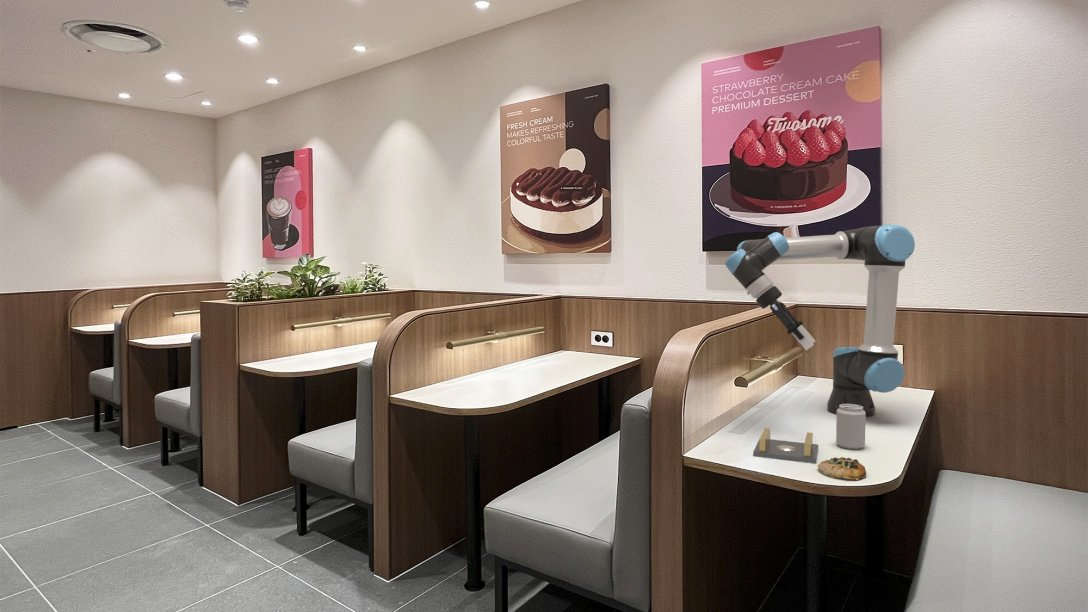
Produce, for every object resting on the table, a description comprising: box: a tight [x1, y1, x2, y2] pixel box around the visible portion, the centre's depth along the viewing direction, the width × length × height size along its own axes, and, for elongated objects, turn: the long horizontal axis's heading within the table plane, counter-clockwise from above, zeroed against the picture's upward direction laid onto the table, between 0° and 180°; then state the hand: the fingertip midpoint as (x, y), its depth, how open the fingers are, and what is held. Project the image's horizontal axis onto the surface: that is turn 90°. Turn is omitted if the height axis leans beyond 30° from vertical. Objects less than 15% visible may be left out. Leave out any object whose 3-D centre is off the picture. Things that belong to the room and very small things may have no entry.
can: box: [835, 404, 867, 450], centre depth 178 cm, size 8×8×12 cm
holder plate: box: [752, 427, 819, 464], centre depth 174 cm, size 16×14×5 cm
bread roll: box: [817, 456, 867, 481], centre depth 157 cm, size 11×11×5 cm
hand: (811, 345), depth 189 cm, fingers open, 13 cm apart
